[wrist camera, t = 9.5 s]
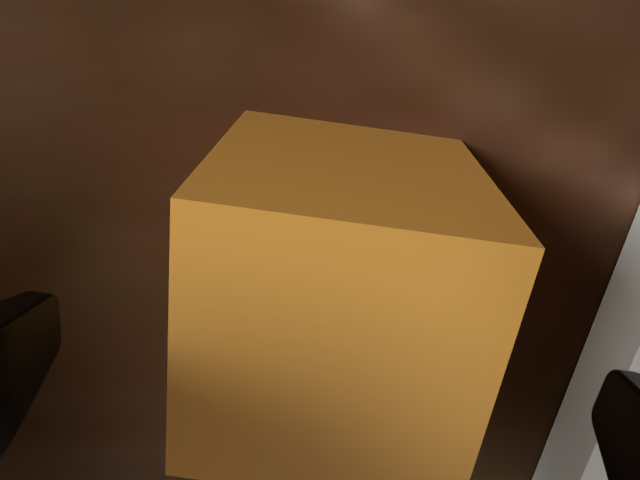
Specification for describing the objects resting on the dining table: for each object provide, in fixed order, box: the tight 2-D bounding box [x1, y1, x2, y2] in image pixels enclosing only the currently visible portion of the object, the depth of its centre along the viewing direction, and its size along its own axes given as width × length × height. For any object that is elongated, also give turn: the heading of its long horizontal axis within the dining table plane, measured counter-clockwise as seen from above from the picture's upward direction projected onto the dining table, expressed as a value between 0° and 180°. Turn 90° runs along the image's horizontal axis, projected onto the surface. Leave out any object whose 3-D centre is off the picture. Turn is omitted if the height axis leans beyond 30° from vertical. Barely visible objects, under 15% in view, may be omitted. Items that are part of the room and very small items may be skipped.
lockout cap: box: [165, 110, 545, 480], centre depth 11 cm, size 5×5×6 cm
